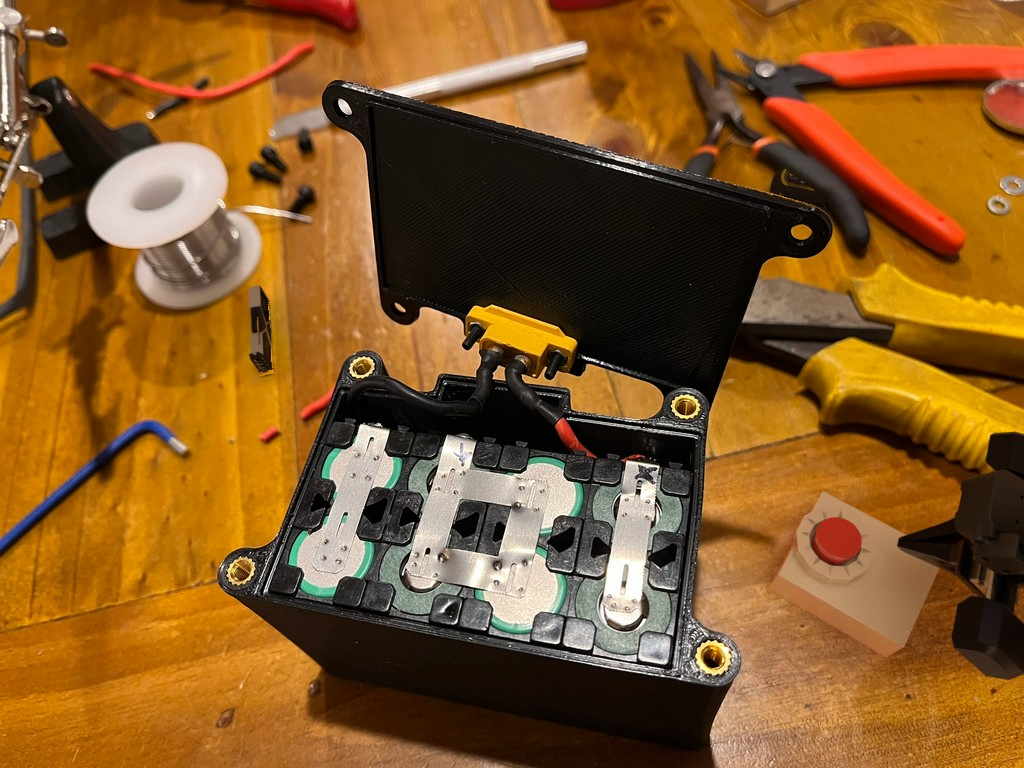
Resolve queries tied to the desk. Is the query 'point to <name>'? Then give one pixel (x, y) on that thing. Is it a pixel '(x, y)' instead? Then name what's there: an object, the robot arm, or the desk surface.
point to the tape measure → (795, 189)
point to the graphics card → (260, 329)
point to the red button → (837, 540)
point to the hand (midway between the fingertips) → (899, 544)
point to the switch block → (857, 580)
